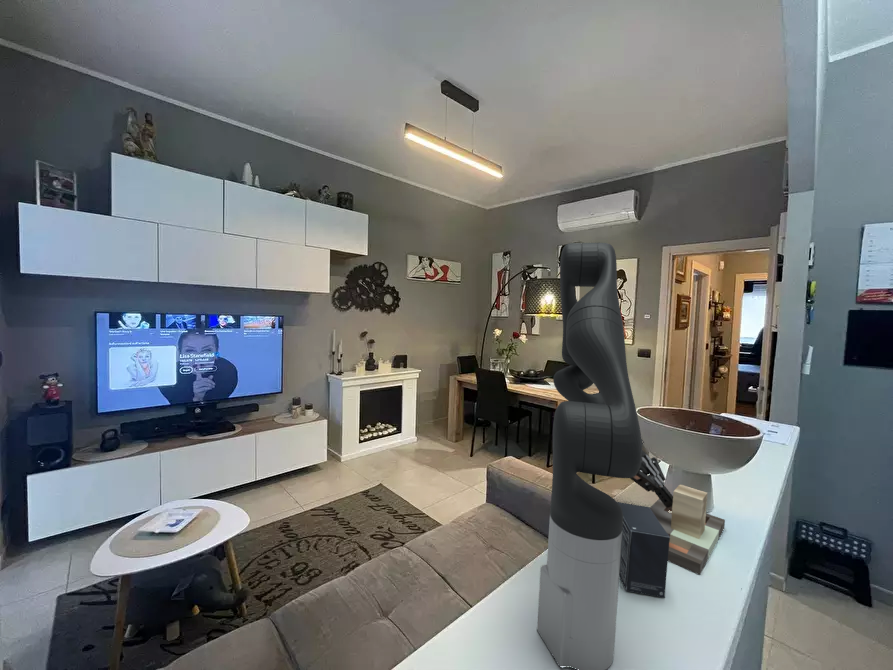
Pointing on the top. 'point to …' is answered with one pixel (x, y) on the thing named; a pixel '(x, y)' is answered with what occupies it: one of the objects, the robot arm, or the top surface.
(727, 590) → the top surface
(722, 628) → the top surface
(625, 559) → the small box
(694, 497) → the maple block
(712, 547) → the pad
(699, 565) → the board
